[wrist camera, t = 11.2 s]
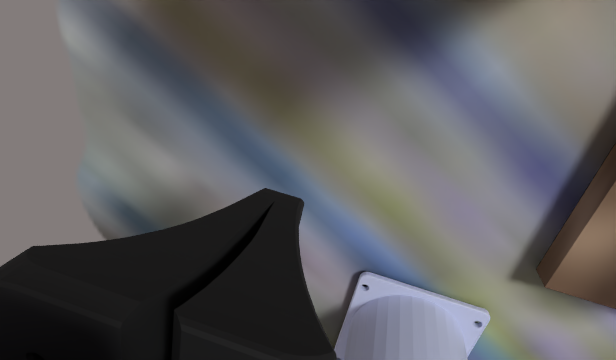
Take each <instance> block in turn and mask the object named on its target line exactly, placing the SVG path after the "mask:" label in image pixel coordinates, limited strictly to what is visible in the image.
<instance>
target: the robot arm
mask: <svg viewBox="0 0 616 360" xmlns="http://www.w3.org/2000/svg"><path fill="white" fill-rule="evenodd" d="M303 207H304V202H303V200H302V199H300V198H297V197H294V196H290V195H287V194H284V193H280V192H277V191H274V190H270V189H267V188H264V189H262V190H260V191H258V192H256V193H254V194H252V195H250V196H248V197H246V198H244V199H242V200H240V201H238V202H236V203H234V204H232V205H230V206H228V207H225V208H223V209H221V210H218V211H216V212H213V213H211V214H209V215H206V216H204V217H201V218H199V219H196V220H193V221H190V222H187V223H184V224H181V225H178V226H174V227H171V228H167V229H164V230H159V231H155V232H150V233H145V234H141V235H136V236H132V237H126V238H120V239H113V240H106V241H98V242H89V243H79V244H63V245H47V246H33V247H31V248H29V249H27V250H26V251H24V252H22V253H21V254H20V255H18V256H16V257H15V258H13V259H12V260H10V261H9V262H7V263H6V264H4V265H2V266H1V267H0V360H468V359H467V357H468V355H469V354H470V352H471V350H472V349H473V347H474V345H475V344H476V342H477V341H478V339H479V337H480V336H481V334H482V332H483V331H484V329H485V327H486V326H487V324H488V322H489V321H490V316H489V312H488V311H487V310H486V309H484V308H480V307H477V306H474V305H471V304H468V303H465V302H462V301H458V300H455V299H452V298H449V297H446V296H443V295H440V294H436V293H433V292H430V291H427V290H424V289H421V288H418V287H415V286H411V285H408V284H405V283H402V282H399V281H396V280H393V279H389V278H386V277H383V276H380V275H377V274H374V273H371V272H363V273H361V275H360V277H359V279H358V282H357V285H356V288H355V291H354V294H353V296H352V299H351V302H350V305H349V308H348V311H347V314H346V316H345V319H344V322H343V325H342V328H341V331H340V333H339V336H338V339H337V342H336V345H335V348H334V349H333V347H332V345H331V343H330V342H329V340H328V338H327V336H326V334H325V332H324V330H323V328H322V325H321V323H320V321H319V319H318V316H317V314H316V312H315V309H314V306H313V303H312V300H311V298H310V295H309V292H308V289H307V285H306V281H305V278H304V273H303V268H302V263H301V257H300V248H299V224H300V220H301V215H302V211H303ZM363 284H365V285H368V287H364V286H362V285H363ZM475 321H480V322H479V323H475Z"/></svg>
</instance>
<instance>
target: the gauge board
mask: <svg viewBox="0 0 616 360" xmlns="http://www.w3.org/2000/svg"><path fill="white" fill-rule="evenodd" d="M536 270H537V272H538V274H539V276H540V278H541V280H542V282H543V284H544V286H545V287H546V288H549V289H552V290H556V291H559V292H562V293H565V294H569V295H572V296H575V297H579V298H582V299H585V300H588V301H592V302H595V303H598V304H601V305H605V306H608V307H611V308H614V309H616V144H615V145H614V147H613V148H612V150H611V151H610V153H609V155H608V156H607V158H606V159H605V161H604V163H603V164H602V166H601V167H600V169H599V170H598V172H597V174H596V175H595V177H594V178H593V180H592V182H591V183H590V185H589V186H588V188H587V189H586V191H585V193H584V194H583V196H582V197H581V199H580V201H579V202H578V204H577V205H576V207H575V208H574V210H573V212H572V213H571V215H570V216H569V218H568V220H567V221H566V223H565V224H564V226H563V227H562V229H561V231H560V232H559V234H558V235H557V237H556V238H555V240H554V242H553V243H552V245H551V246H550V248H549V250H548V251H547V253H546V254H545V256H544V257H543V259H542V261H541V262H540V264H539V265H538V267H537V269H536Z"/></svg>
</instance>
